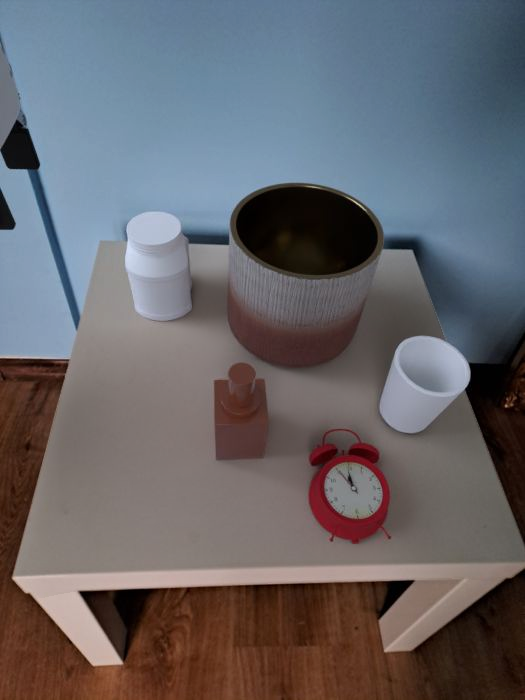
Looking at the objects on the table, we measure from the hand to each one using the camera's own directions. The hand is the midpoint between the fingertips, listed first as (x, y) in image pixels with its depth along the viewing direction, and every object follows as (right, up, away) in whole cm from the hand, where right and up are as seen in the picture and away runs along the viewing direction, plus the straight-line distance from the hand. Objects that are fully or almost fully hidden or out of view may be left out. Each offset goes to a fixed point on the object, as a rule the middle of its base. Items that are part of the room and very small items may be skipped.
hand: (12, 195), depth 44 cm
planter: (+29, -10, +36) cm, 47 cm away
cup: (+45, -25, +26) cm, 58 cm away
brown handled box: (+21, -26, +22) cm, 40 cm away
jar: (+7, -5, +37) cm, 38 cm away
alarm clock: (+35, -33, +18) cm, 52 cm away
